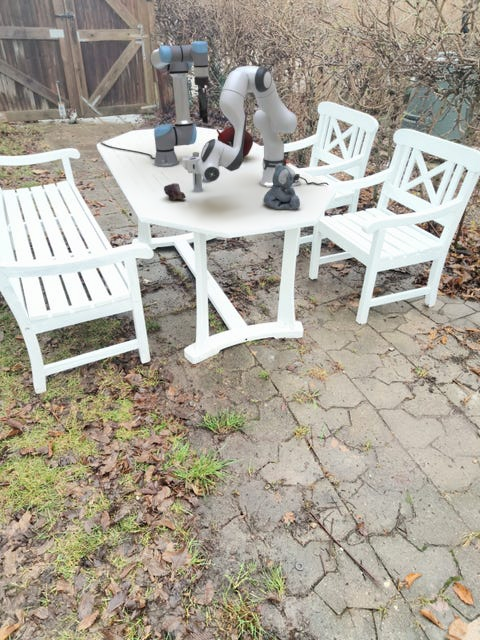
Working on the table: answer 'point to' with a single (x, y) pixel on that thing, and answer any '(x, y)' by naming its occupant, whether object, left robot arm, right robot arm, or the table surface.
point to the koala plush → (282, 190)
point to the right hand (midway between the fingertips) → (200, 157)
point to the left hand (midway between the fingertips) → (203, 120)
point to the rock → (174, 191)
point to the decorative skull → (228, 139)
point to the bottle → (197, 178)
